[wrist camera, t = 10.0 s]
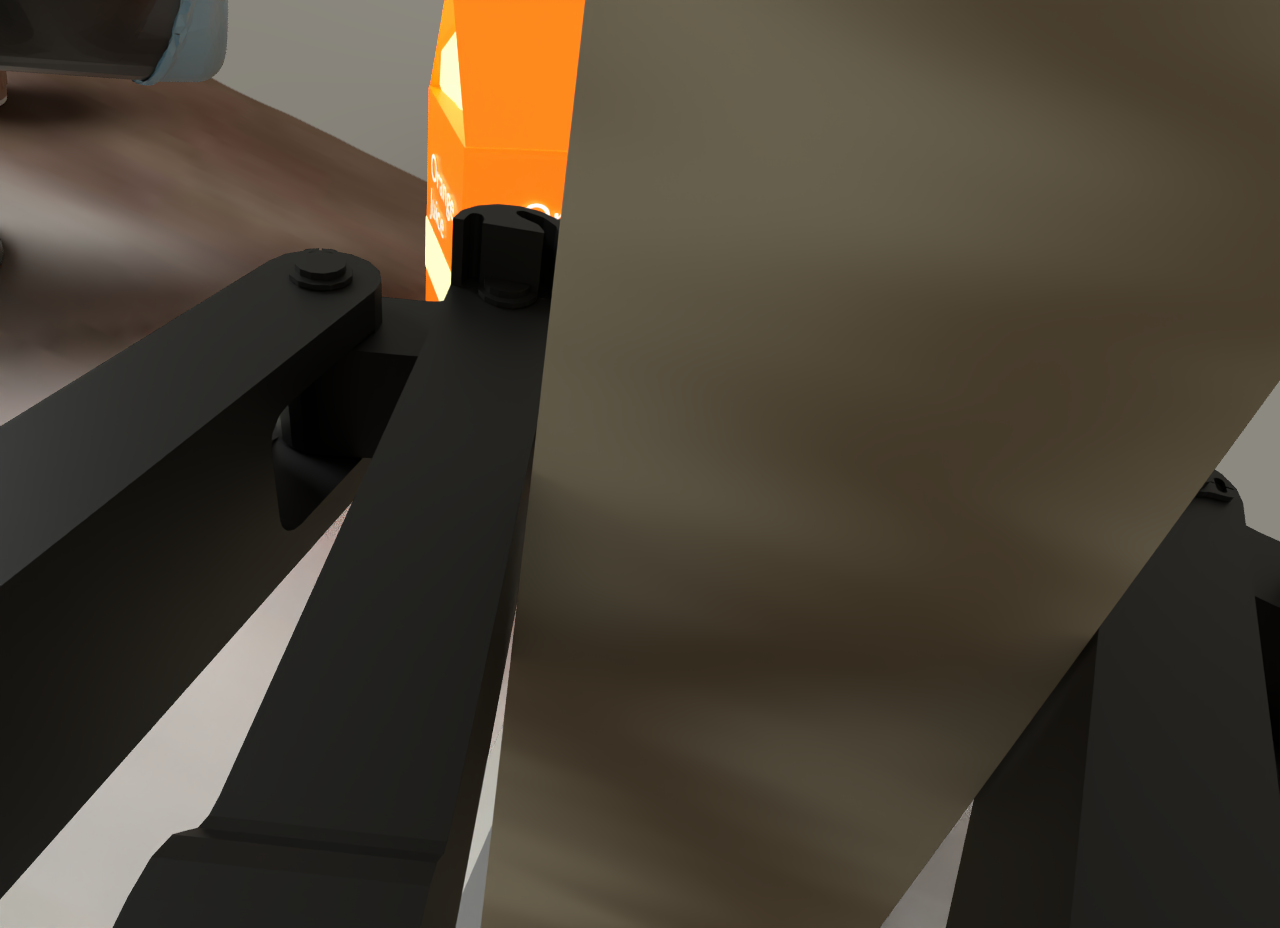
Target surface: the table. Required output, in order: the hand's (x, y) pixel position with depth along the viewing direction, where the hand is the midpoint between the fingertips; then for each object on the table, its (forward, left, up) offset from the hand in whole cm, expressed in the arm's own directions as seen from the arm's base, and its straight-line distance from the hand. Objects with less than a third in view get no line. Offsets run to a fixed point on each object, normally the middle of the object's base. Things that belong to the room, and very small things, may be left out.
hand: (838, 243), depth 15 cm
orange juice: (-24, 0, -21) cm, 32 cm away
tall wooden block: (+5, -3, -9) cm, 10 cm away
